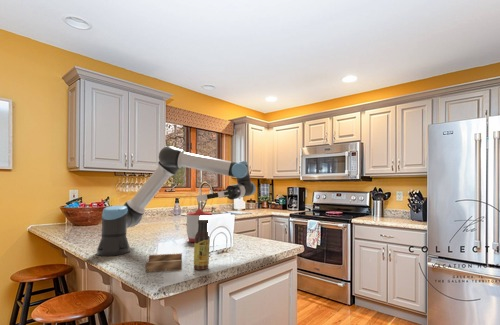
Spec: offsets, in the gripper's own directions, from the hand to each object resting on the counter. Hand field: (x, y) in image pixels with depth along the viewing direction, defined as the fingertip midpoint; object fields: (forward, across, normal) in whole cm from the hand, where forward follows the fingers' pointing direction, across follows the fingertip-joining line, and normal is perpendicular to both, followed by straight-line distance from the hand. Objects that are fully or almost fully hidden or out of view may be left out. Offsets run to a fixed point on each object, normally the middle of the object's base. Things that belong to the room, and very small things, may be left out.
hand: (207, 196), depth 132 cm
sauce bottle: (+13, -1, -29) cm, 31 cm away
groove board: (+19, +14, -26) cm, 35 cm away
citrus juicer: (-29, +39, -26) cm, 55 cm away
